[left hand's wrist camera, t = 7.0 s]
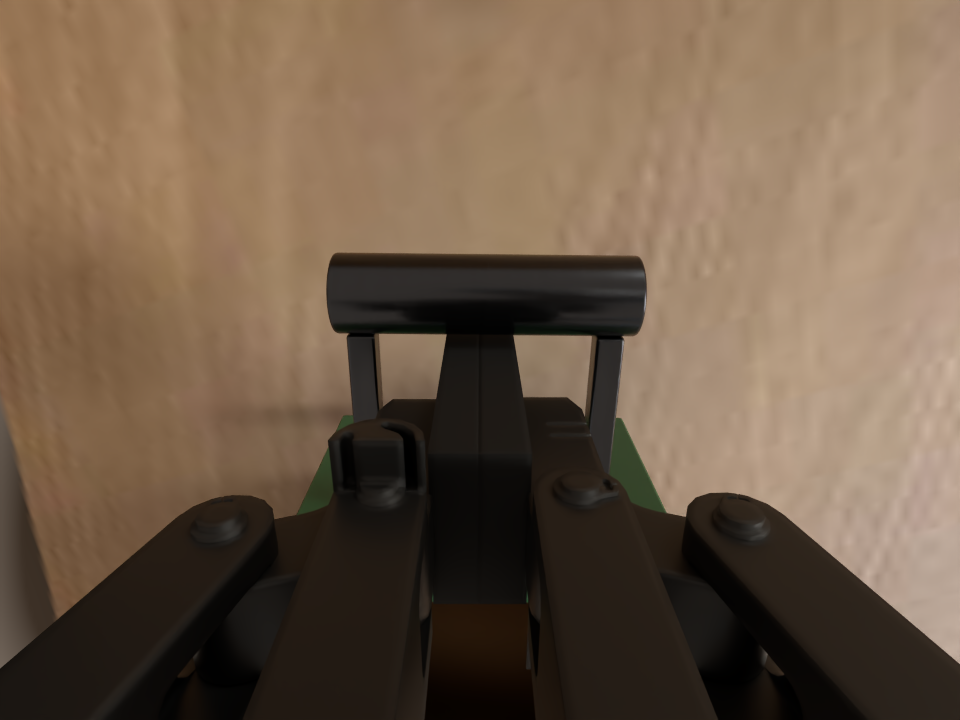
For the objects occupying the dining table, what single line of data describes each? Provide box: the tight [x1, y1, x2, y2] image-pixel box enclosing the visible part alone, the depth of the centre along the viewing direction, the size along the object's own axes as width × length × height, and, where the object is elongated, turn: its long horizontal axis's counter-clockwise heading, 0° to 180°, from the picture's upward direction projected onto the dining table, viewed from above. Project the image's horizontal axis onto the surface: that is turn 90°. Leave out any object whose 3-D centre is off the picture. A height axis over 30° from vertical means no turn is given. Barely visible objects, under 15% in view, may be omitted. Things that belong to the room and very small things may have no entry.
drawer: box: [297, 253, 666, 720], centre depth 18 cm, size 26×9×7 cm, turn 179°
